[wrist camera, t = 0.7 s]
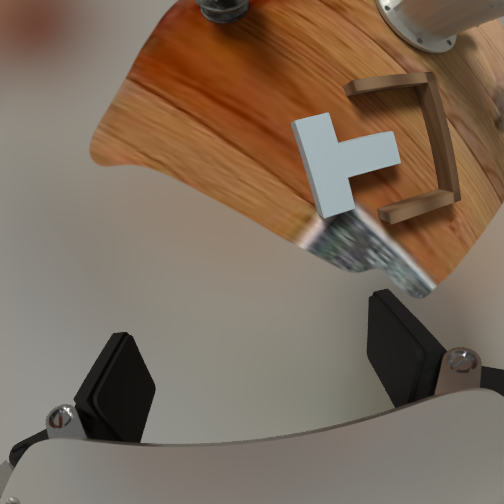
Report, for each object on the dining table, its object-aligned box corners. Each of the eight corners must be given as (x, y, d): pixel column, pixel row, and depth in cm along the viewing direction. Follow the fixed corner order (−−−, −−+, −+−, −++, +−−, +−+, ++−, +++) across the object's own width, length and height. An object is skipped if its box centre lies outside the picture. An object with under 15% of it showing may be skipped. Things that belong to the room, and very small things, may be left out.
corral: (379, 218, 31) (391, 224, 28) (343, 86, 26) (353, 80, 23) (446, 195, 30) (461, 200, 27) (418, 76, 26) (432, 71, 23)
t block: (317, 213, 31) (323, 218, 28) (290, 123, 28) (294, 120, 25) (396, 189, 30) (406, 192, 28) (374, 104, 27) (383, 101, 25)
